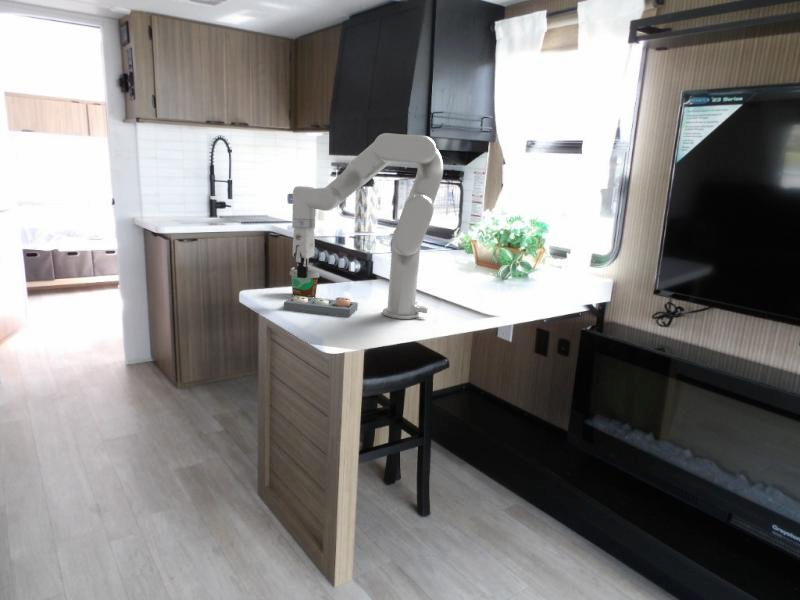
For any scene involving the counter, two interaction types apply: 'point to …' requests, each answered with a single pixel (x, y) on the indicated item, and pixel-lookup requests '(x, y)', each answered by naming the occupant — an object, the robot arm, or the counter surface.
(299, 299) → the button two dot
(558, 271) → the counter surface
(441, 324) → the counter surface
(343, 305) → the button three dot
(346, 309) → the gray rectangular tray
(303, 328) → the counter surface
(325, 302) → the button one dot
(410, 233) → the robot arm
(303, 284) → the food container
